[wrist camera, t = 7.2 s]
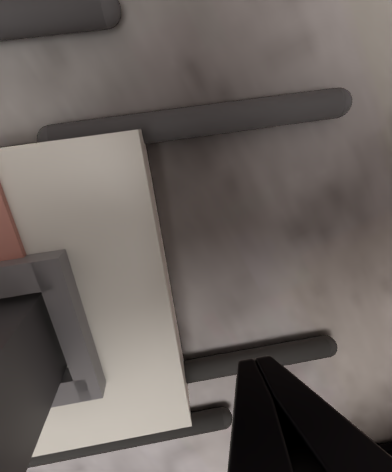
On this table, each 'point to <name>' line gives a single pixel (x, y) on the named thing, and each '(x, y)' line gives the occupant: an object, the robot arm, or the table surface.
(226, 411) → the rod
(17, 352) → the breaker toggle
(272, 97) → the rod
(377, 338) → the table surface
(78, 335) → the breaker switch base
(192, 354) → the table surface
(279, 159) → the table surface
